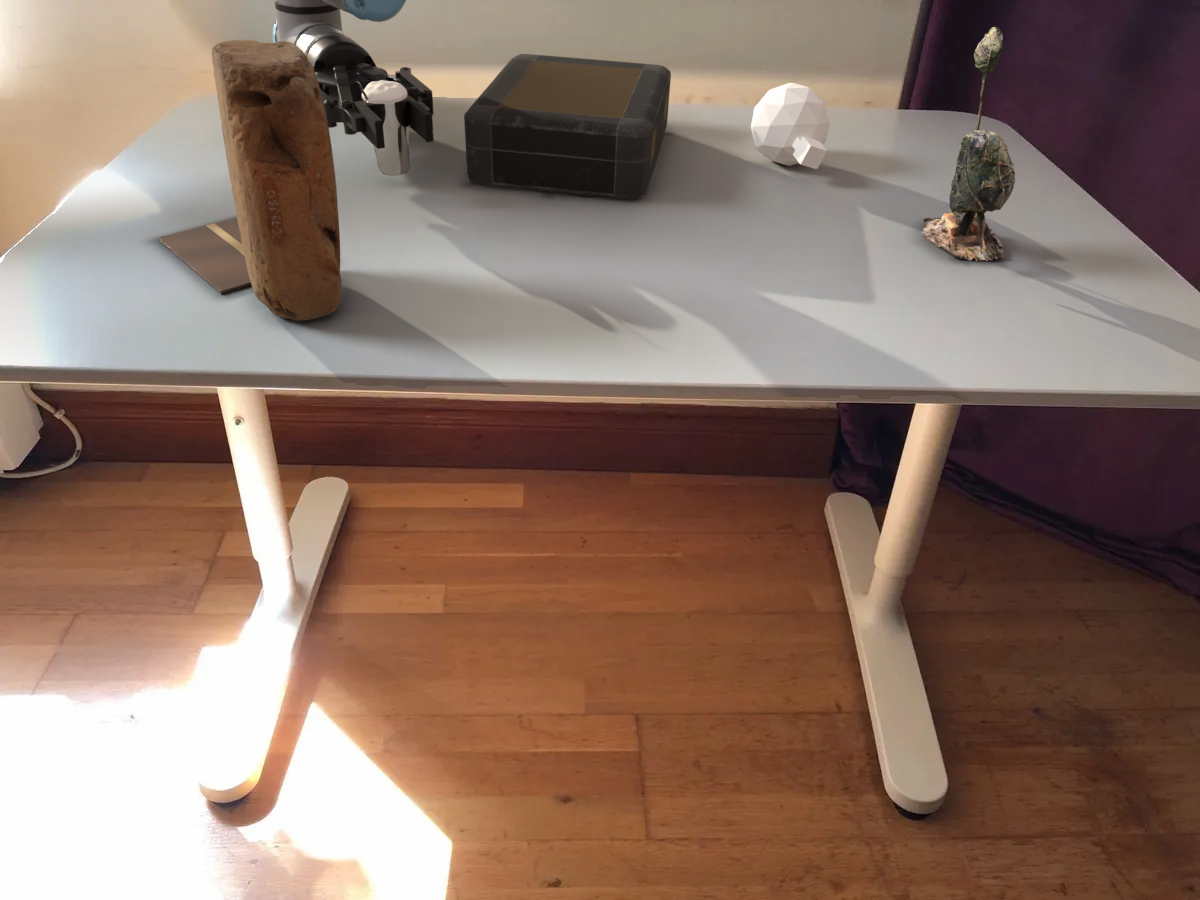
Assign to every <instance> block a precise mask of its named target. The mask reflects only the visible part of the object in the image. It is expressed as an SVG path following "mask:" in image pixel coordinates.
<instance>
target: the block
mask: <svg viewBox="0 0 1200 900" xmlns="http://www.w3.org/2000/svg"><path fill="white" fill-rule="evenodd" d="M211 62H212V66H213V78H214V83H215V88H216V94H217V103H218V104H217V105H218V111H219V116H220V123H221V130H222V137H223V144H224V149H225V150H224V151H225V157H226V162H227V168H228V175H229V181H230V185H231V191H232V197H233V203H234V208H235V209H234V210H235V213H236V217H237V219H238V225H239V230H240V235H241V241H242V246H243V251H244V255H245V260H246V265H247V270H248V274H249V278H250V281H251V287H252V291H253V293H254V296H255V297H256V299H257V300H258V301H259V302H261V303H262V304H264V306H265V307H266V308H268V309H269V311H271V312H272V313H273V314H274V315H275V316H277V317H279V318H282V319H288V320H289V319H290V320H292V321H296V322H298V321H309V320H310V321H311V320H315V319H319V318H322V317H327V316H329V315H330V314H333V313H334V312H335V311H336V310H337V309H338V308H339V307H340V304H341V301H342V275H341V233H340V219H339V218H340V217H339V208H338V205H339V203H338V202H339V201H338V188H337V180H336V171H335V162H334V154H333V147H332V141H331V140H332V139H331V135H330V134H331V133H330V128H329V127H328V122H327V117H326V113H325V108H324V104H323V102H322V99H321V93H320V88H319V83H318V80H317V77H316V74H315V71H314V68H313V66H312V65H311V63H310V62H309V61H308V59H307V56H306V55H305V54H304V53H303V51H302V50H301V49H299V48H298V47H297V46H296V45H294V44H293V43H291V42H287V41H279V42H276V43H274V42H259V41H257V40H253V39H234V40H233V39H232V40H225V41H220V42H218V43H216V44H215V45H214V46H213V47H211Z"/></svg>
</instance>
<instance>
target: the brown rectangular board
mask: <svg viewBox="0 0 1200 900" xmlns="http://www.w3.org/2000/svg"><path fill="white" fill-rule="evenodd" d="M157 240H158V241H159V243H160V244H162V245H163V246H164V247H165V248H167V249H168V250H169V251H170V252H171V253H172V254H173V255H175V256H176V257H177V258H178V259H179V260H181V261H182V262H183V263H184V264H185V265H187V266H188V267H189V269H191V271H193V272H194V273H195V274H197V275H198V276H199V277H200V278H201V279H203V281H205V282H206V283H207V284H209V285H210V286H211V287H212V288H213V289H215V291H217V292H218V293H219V294H220V295H223V294H227V293H230V292H234V291H237V290H240V289H244V288H247V287H252V285H251V281H250V278H249V274H248V270H247V265H246V260H245V255H244V251H243V246H242V241H241V235H240V230H239V225H238V219H237V216H236V217H232V218H228V219H225V220H220V221H217V222H213V223H208V224H205V225H201V226H197V227H192V228H190V229H185V230H182V231H177V232H174V233H170V234H166V235H162V236H158V237H157Z"/></svg>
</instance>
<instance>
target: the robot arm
mask: <svg viewBox="0 0 1200 900" xmlns="http://www.w3.org/2000/svg"><path fill="white" fill-rule="evenodd" d="M406 1H407V0H274V10H275V11H274V12H275V17H276V20H275V21H274V24H273V27H272V40H273V42H272V43H276V42H279V41H287V42H291V43H293V44H294V45H296V46H297V47H298V48H299V49H301V50H302V51H303V53H304V54H305V55H306V56H307V59H308V61H309V62H310V63H311V65H312V66H313V68H314V71H315V74H316V77H317V80H318V83H319V88H320V93H321V99H322V102H323V104H324V108H325V113H326V117H327V122H328V127H329V129H332V128H336V127H337V126H338V124H337V123H342V124H343V128H344V129H343V130H344V134H345V135H348V136H350V135H357V133H361V134H362V135H363V136H364V137H365V138H366V139H367V140H368V141H369V142H370V143H371V144H372V145H373V147H374V146H375V147H376V148H377V149H380V148H385V143H384V132H383V121H382V119H380V118H379V117H378V116H377V115H376V114H375V113H374V112H373V111H372V110H371V109H370V108H369V107H368V106H367V105H365V104H364V103H363V98H362V91H361V89H360V88H359V86H358V84H357V82H359V83H360V84H361V86H362V88H363V90H364V89H365V88H366V86H367V85H368V84H369V83H370V82H373V81H380V80H385V81H394V82H398V83H400V84H401V85H402V86H403V87H404V88H405V89H406V91H407V97H408V128H410V129H411V130H412V131H413V132H415V133H416V134H417V135H418V136H419V137H420V138H421V139H422V140H424V141H425V142H426V143H430V142H434V141H435V140H434V123H433V115H434V99H433V98H434V97H433V90H432V89H431V88H429V87H428V86H427V85H426V84H425V83H423V81H421V80H420V79H418V78H417V77H416V76H415V75H414V74H412V69H411V67H408V66H403V67H400V68H399V70H396V71H394V72H395V74H389V73H388V72H387V70H386V69H384V68H381V67H378V66H377V64H376V62H375V61H374V59H373V57H372V56H371V55H370V54H369V52H368V51H367V50H366V49H364V47H362V46H361V45H360V44H358V43H357V42H356V41H355V40H354V39H353V38H352V37H350V36H349V35H348V34H347V33H345V32H344V31H343V25H342V23H343V22H342V16H341V11H343V12H345V13H349V14H350V15H353V16H354V17H355V18H357V19H358V20H362V21H370V22H375V23H382V22H386V21H389V20H391V19H393V18H395V17H396V16H397V15H398V14H399V13H400V12H401V10H402V9H403V7H404V5H405V3H407V2H406ZM356 81H357V82H356Z"/></svg>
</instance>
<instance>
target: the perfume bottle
mask: <svg viewBox="0 0 1200 900" xmlns="http://www.w3.org/2000/svg"><path fill="white" fill-rule="evenodd" d="M752 113H753V114H752V119H751V124H750V128H751V133H752V137H753V138H752V139H753V142H754V146H755V149H756V150H757V151H758V152H760V153H761V154H762V155H763V156H765V157H766V158H767V159H768V160H770V161H772V162H775V163H777V164H781V165H784V166H787V167H792V166H795V165H800V166H804V167H808V168H811V169H814V170H818V169H819V167H820V165H821V164H822V161H823V160H824V158H825V156H826V154H827V153H828V149H827V148H826V147H825V146H824V145H825V143H826V142H827V138H828V134H829V131H830V130H829V129H830V125H831V121H830V116H829V112H828V107H827V104H826V101H825V99H824V98H822V97H821V96H820V95H819V94H817V93H816V91H815V90H813V89H812V88H811V86H810V87H809V86H806V85H802V84H798V83H794V82H789V83H788V82H787V83H785V84H782V85H779V86H777V87H773V88H771V89H768V91H767V92H766V93H765V94H764V95H763V97H762V98H761V99H760V101H759V102H757V104H756V105H755V106H754V108H753V112H752Z"/></svg>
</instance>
